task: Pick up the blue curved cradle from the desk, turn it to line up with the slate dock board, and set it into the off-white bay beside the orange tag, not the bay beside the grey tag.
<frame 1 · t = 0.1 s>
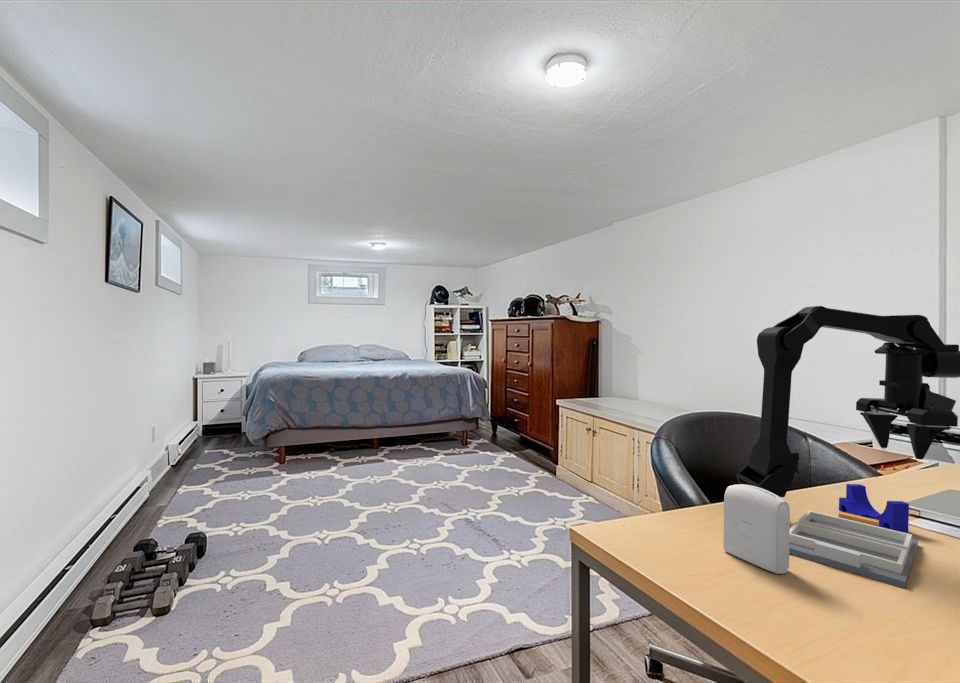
hand: (900, 453, 97), 14 cm above the table, fingers open, 9 cm apart
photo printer: (754, 561, 80), on the table
dock board: (848, 547, 86), on the table
blue curved cradle: (871, 523, 98), on the table
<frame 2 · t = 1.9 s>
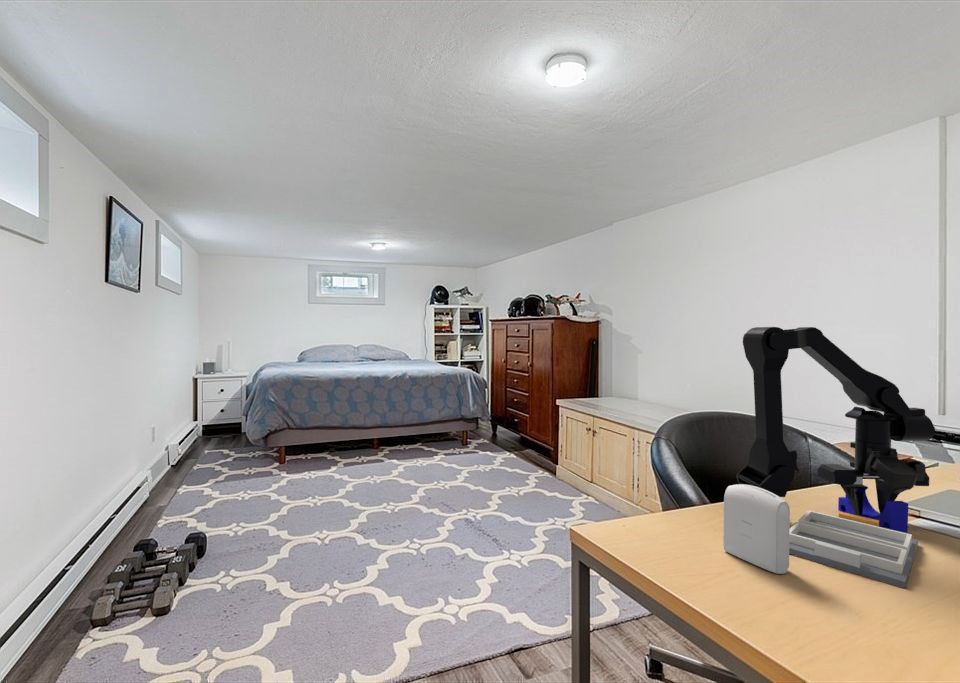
hand: (870, 516, 98), 1 cm above the table, fingers closed on blue curved cradle, 5 cm apart
blue curved cradle: (870, 522, 98), on the table, touching gripper
everything else where it was.
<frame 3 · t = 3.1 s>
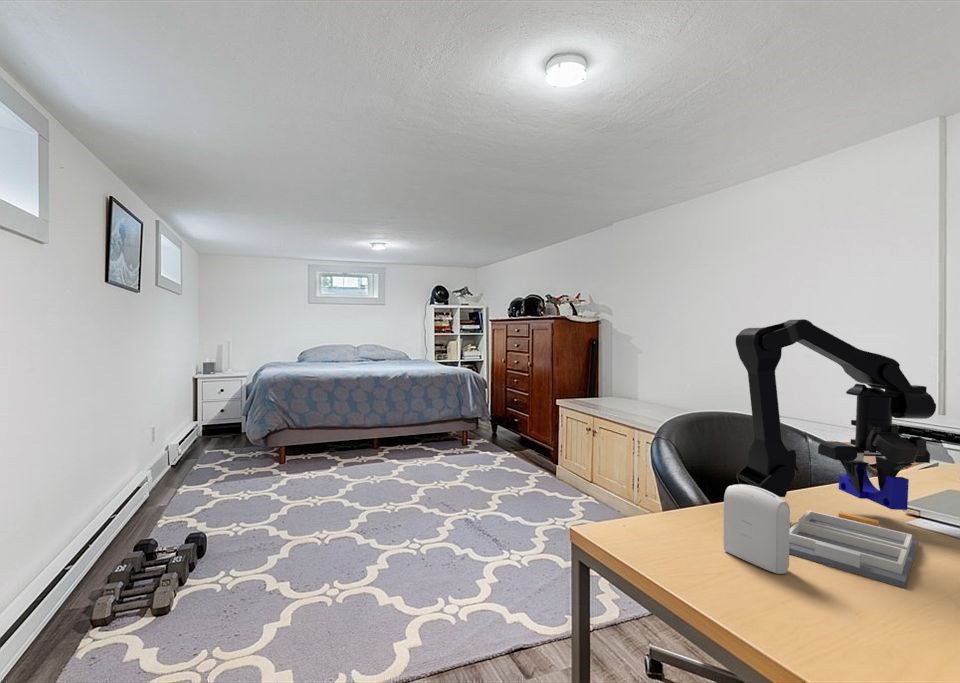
hand: (871, 493, 98), 6 cm above the table, fingers closed on blue curved cradle, 4 cm apart
blue curved cradle: (870, 499, 98), point 4 cm above the table, touching gripper
everything else where it was.
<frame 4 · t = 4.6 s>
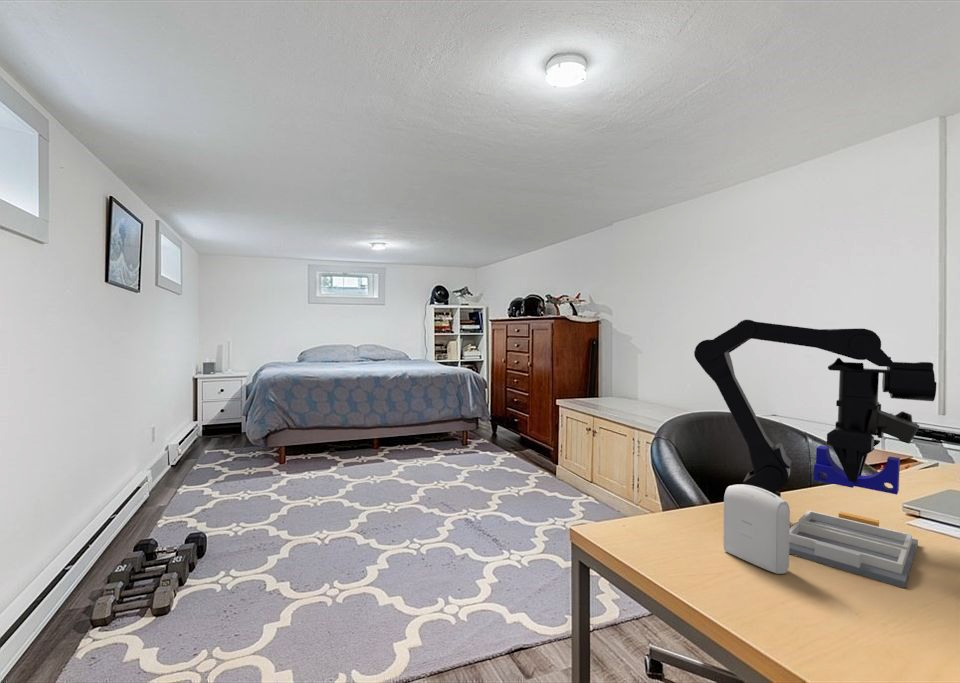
hand: (854, 479, 89), 11 cm above the table, fingers closed on blue curved cradle, 4 cm apart
blue curved cradle: (854, 486, 89), point 10 cm above the table, touching gripper
everything else where it was.
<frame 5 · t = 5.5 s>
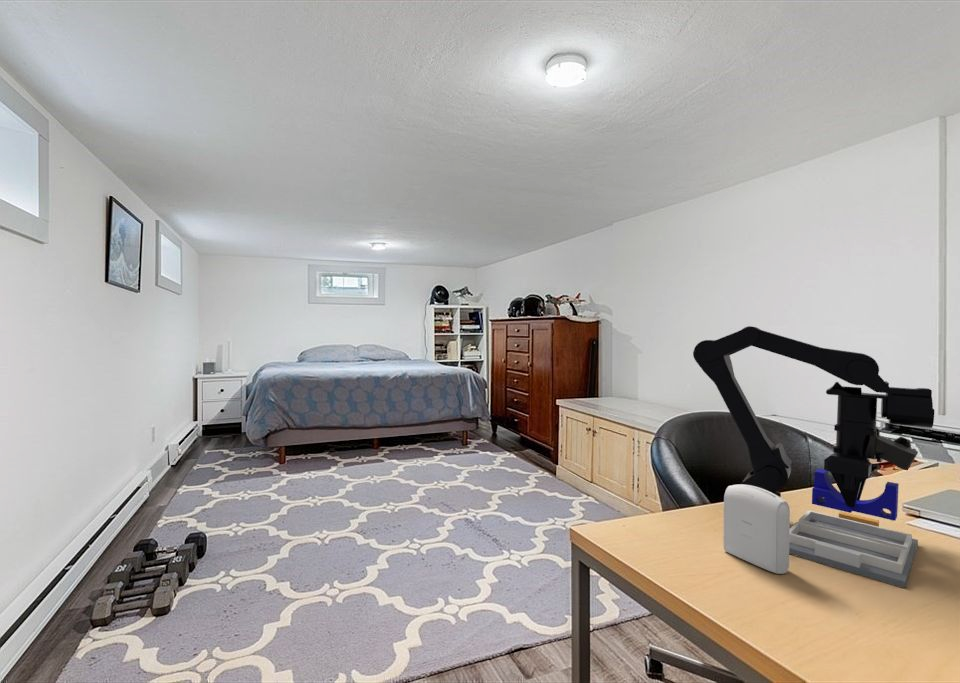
hand: (853, 503, 89), 7 cm above the table, fingers closed on blue curved cradle, 4 cm apart
blue curved cradle: (853, 511, 89), point 5 cm above the table, touching gripper
everything else where it was.
when the fingers open (3 cm above the table, at t = 6.5 s): blue curved cradle drops 1 cm, resting on dock board.
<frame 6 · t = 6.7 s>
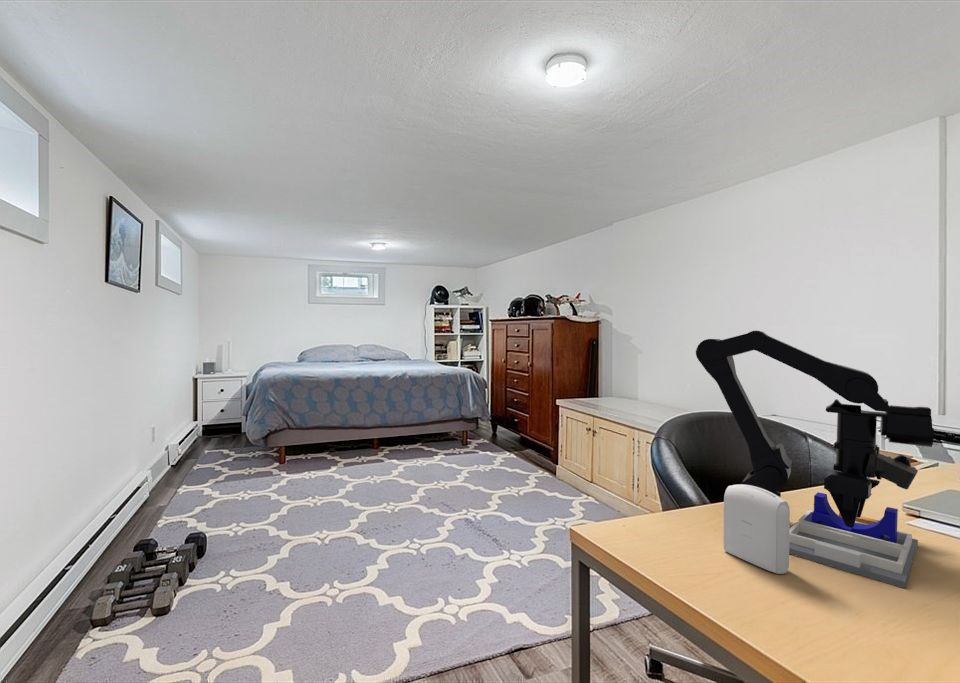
hand: (853, 521, 89), 3 cm above the table, fingers open, 7 cm apart
blue curved cradle: (852, 536, 89), point 1 cm above the table, touching dock board
everything else where it was.
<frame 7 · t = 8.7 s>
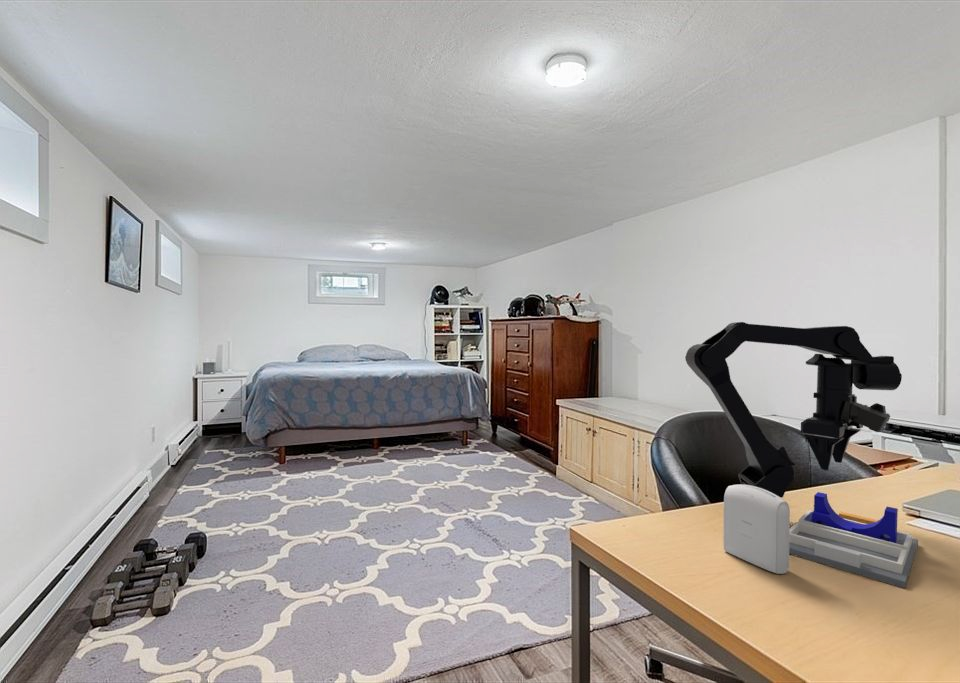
hand: (831, 465, 96), 12 cm above the table, fingers open, 9 cm apart
nothing on the table moved.
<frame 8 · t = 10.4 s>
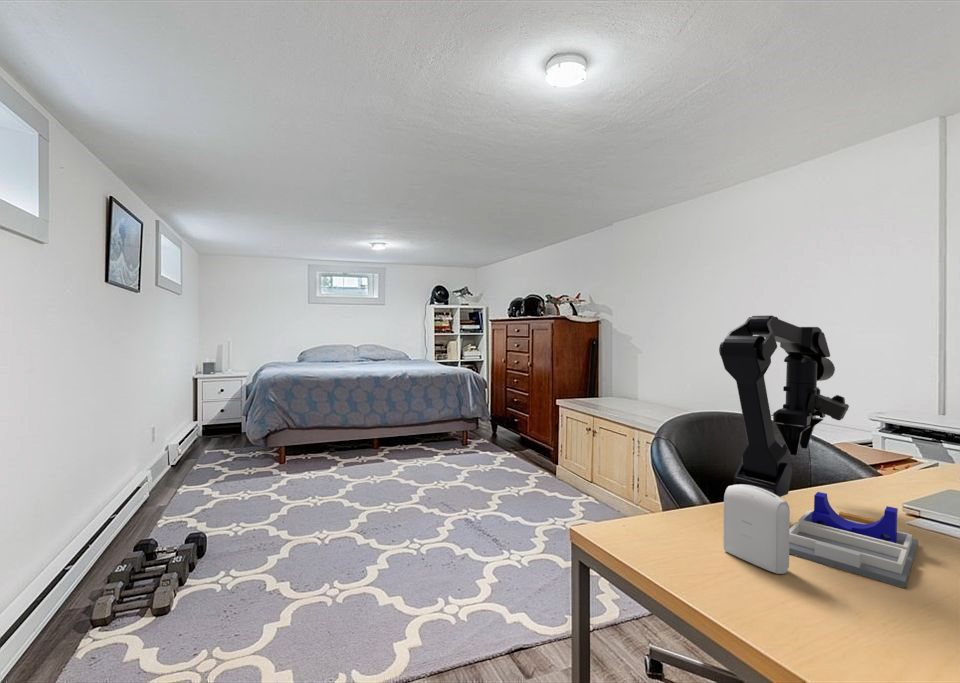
hand: (799, 451, 107), 12 cm above the table, fingers open, 9 cm apart
nothing on the table moved.
at the end: blue curved cradle 0.4 cm from the target spot on the dock board, point 0.8 cm above the dock board's base; blue curved cradle tilted 0°; the gripper is holding nothing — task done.
